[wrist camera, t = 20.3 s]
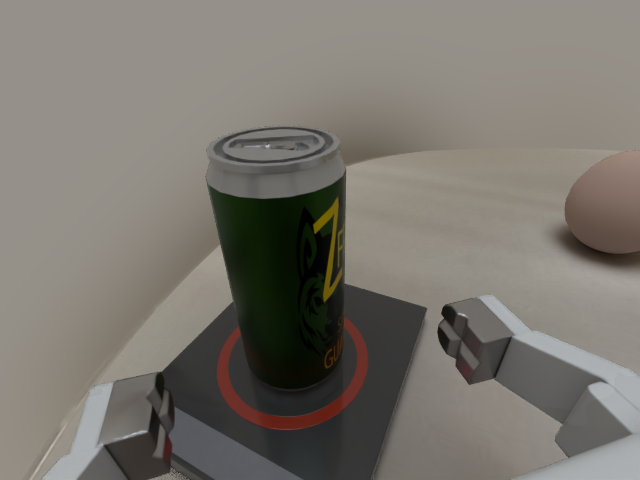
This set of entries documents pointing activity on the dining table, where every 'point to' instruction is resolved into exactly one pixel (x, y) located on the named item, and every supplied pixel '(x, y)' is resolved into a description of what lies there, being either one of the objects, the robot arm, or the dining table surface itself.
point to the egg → (607, 205)
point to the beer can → (283, 248)
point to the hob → (292, 400)
